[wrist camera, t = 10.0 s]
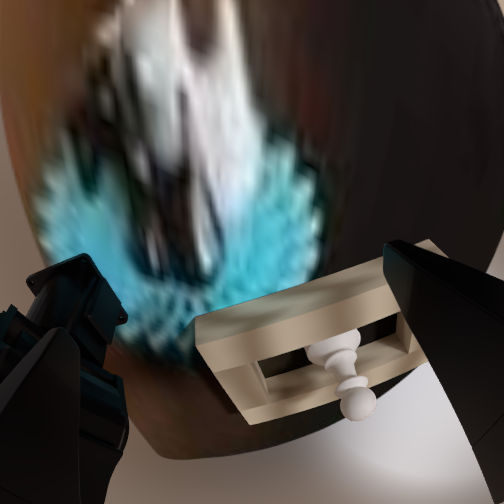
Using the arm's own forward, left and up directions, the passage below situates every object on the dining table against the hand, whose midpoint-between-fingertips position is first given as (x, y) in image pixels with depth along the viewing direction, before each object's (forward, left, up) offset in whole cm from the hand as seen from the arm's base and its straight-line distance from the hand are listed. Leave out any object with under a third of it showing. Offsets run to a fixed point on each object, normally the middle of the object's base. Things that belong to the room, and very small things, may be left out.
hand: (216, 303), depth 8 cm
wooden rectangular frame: (+5, -18, -12) cm, 22 cm away
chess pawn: (+5, -18, -12) cm, 22 cm away
